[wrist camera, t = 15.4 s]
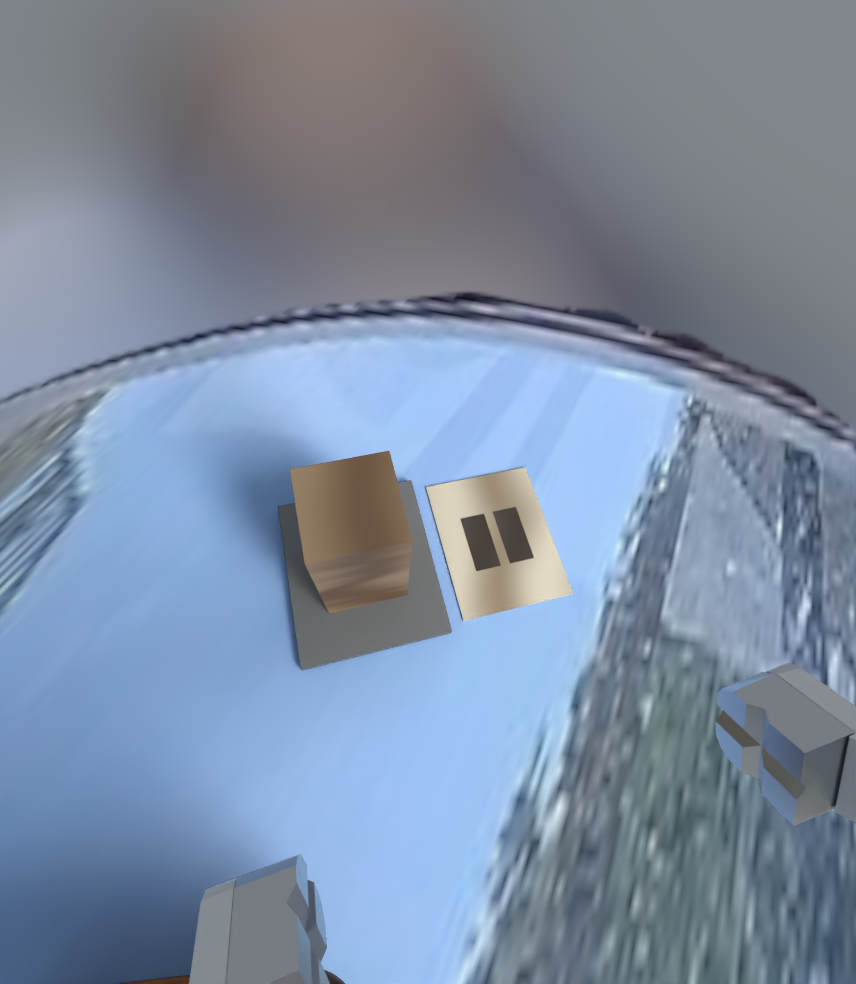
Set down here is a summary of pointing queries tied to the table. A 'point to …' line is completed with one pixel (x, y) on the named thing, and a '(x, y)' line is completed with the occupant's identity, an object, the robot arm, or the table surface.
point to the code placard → (497, 543)
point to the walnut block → (353, 530)
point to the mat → (367, 624)
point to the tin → (183, 981)
